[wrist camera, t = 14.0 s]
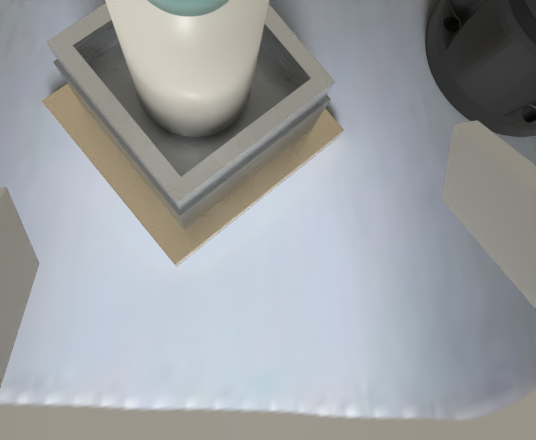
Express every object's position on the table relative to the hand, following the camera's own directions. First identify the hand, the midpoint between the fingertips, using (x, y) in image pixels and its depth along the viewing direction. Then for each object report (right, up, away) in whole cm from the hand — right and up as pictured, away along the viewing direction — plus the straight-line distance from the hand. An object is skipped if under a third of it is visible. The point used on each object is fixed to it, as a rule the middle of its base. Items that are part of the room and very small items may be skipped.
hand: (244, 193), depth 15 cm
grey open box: (-5, +6, +24) cm, 25 cm away
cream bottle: (-4, +8, +16) cm, 18 cm away
